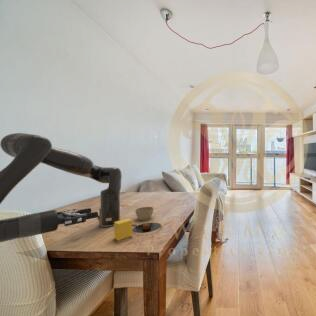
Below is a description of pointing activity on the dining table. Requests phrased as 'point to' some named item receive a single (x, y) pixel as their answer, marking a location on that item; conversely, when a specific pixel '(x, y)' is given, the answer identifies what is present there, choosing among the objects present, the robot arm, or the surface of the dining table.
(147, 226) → the brown small block
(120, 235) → the sponge
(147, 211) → the beige bowl
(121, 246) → the dining table surface
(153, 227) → the pan
